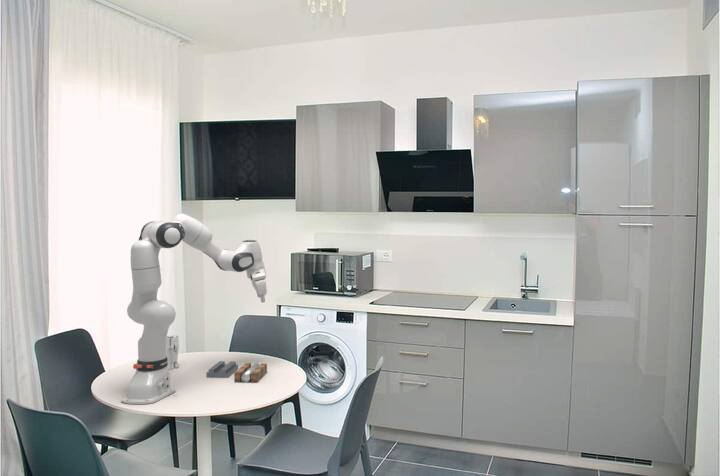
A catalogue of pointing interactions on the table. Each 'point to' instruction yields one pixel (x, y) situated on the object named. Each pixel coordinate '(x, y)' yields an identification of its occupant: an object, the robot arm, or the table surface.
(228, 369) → the v block
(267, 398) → the table surface
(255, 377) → the wooden channel cradle
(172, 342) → the beer glass
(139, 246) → the robot arm
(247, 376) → the axle
